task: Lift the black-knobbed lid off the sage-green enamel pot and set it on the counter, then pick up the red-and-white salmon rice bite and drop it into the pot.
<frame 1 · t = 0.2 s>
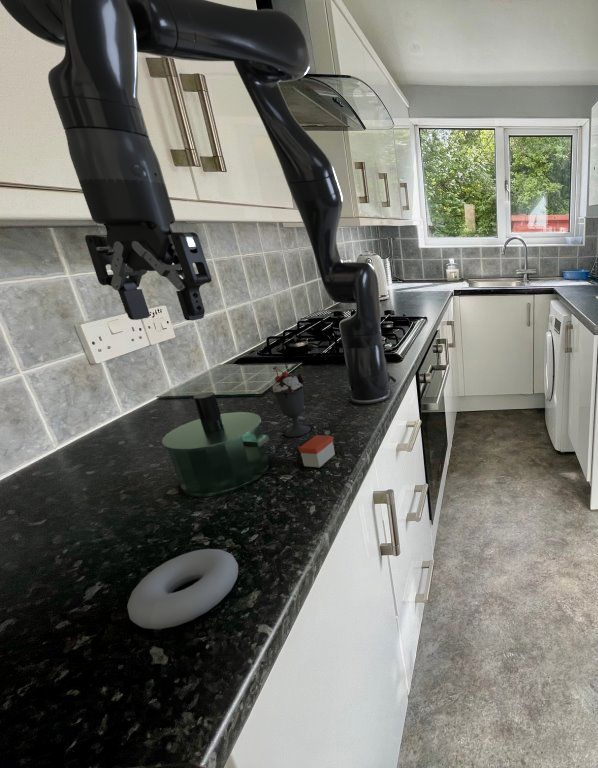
hand: (167, 319, 53), 29 cm above the table, tool pointing down, fingers open, 8 cm apart
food: (319, 460, 75), on the table
pot: (228, 475, 71), on the table
sundae: (298, 432, 87), on the table
donut: (191, 598, 47), on the table
lid: (214, 431, 68), point 8 cm above the table, touching pot
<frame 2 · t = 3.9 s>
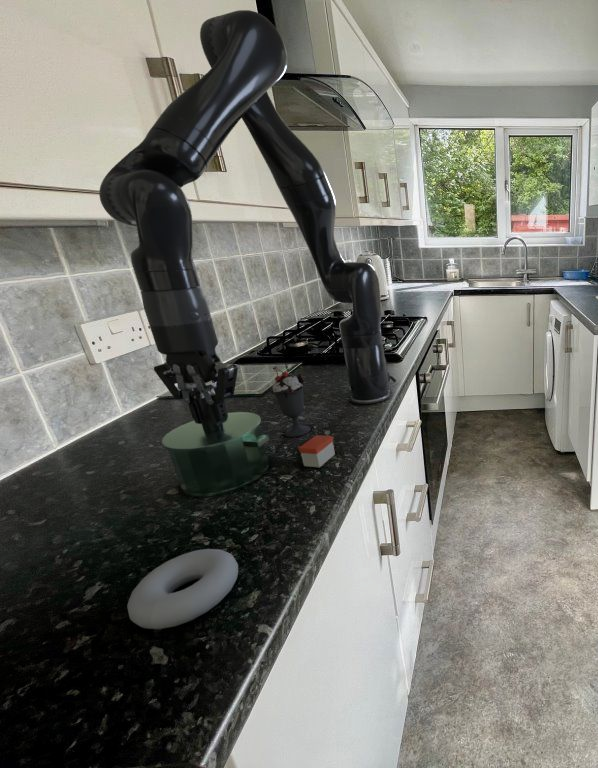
hand: (211, 421, 68), 10 cm above the table, tool pointing down, fingers closed on lid, 3 cm apart
lid: (214, 431, 68), point 9 cm above the table, touching gripper, pot
everything else where it was.
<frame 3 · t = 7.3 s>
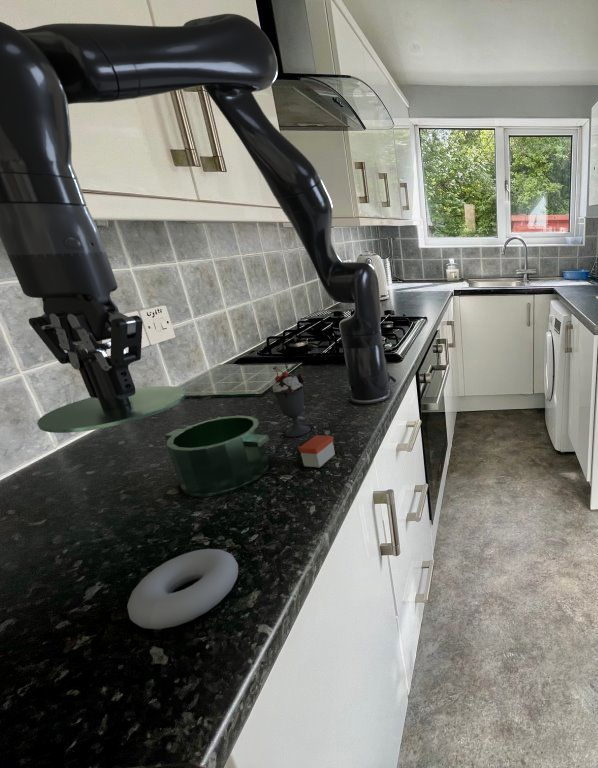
hand: (113, 395, 51), 21 cm above the table, tool pointing down, fingers closed on lid, 3 cm apart
lid: (118, 408, 51), point 19 cm above the table, touching gripper
everything else where it was.
when the fingers open (2 cm above the table, at t = 10.8 s): lid stays where it is, point 1 cm above the table.
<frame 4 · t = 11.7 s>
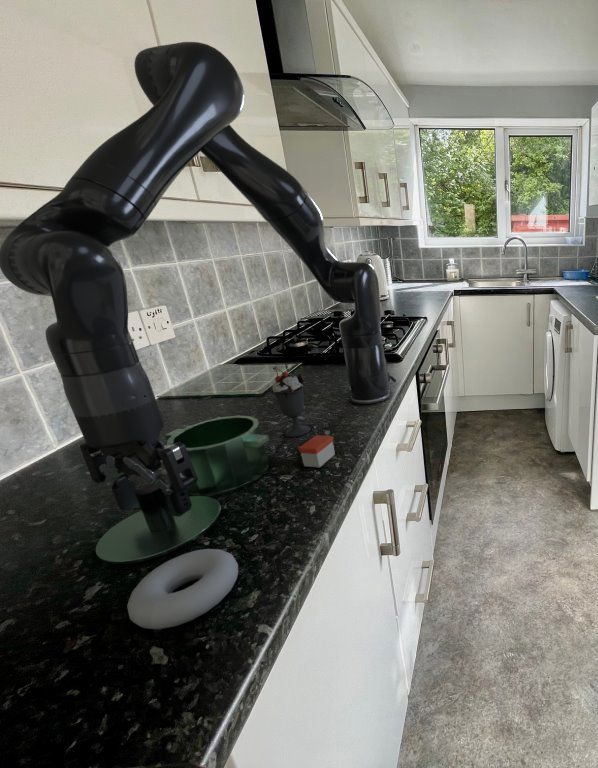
hand: (156, 509, 56), 4 cm above the table, tool pointing down, fingers open, 8 cm apart
lid: (163, 527, 57), point 1 cm above the table
everything else where it was.
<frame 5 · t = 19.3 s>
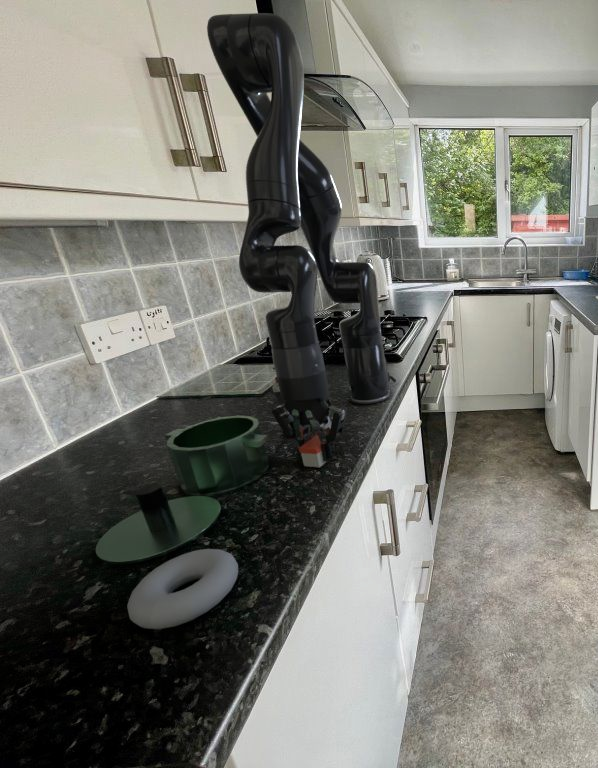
hand: (319, 457, 75), 0 cm above the table, tool pointing down, fingers closed on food, 3 cm apart
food: (319, 460, 75), on the table, touching gripper
everything else where it was.
when the fingers open (7 cm above the table, at t = 25.9 s): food drops 6 cm, resting on pot.
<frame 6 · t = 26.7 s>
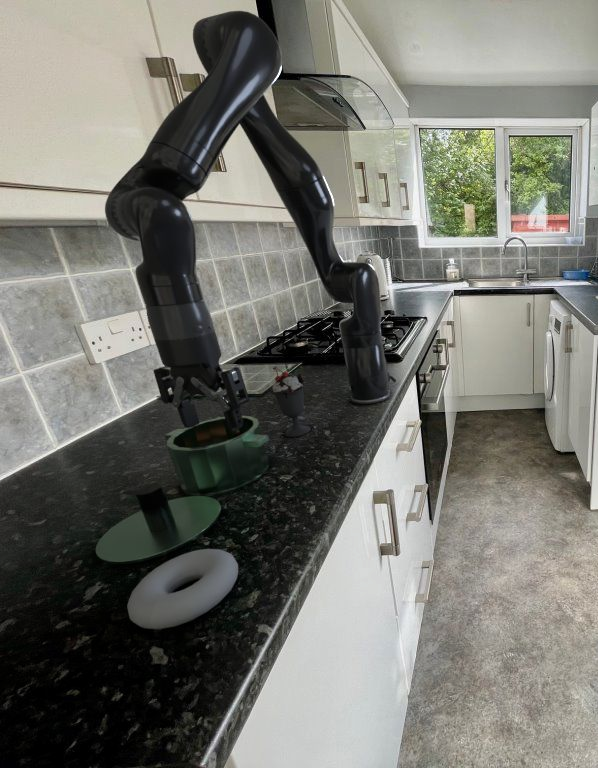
hand: (214, 427, 68), 9 cm above the table, tool pointing down, fingers open, 8 cm apart
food: (227, 472, 71), resting on pot
everything else where it was.
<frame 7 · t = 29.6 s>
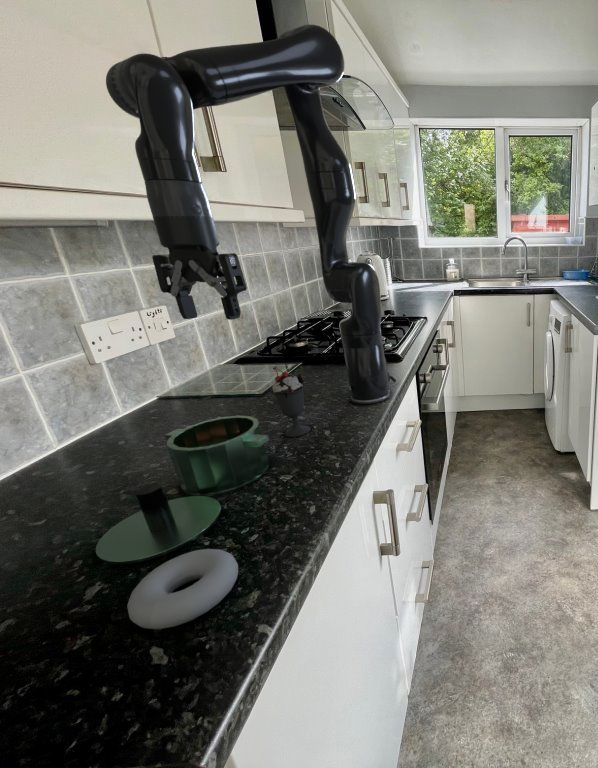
hand: (211, 318, 69), 26 cm above the table, tool pointing down, fingers open, 8 cm apart
nothing on the table moved.
at the end: lid inside the target area (0.0 cm from its centre), point 0.6 cm above the table; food inside the target area in the pot (0.0 cm from its centre), point 0.5 cm above the pot's base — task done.
